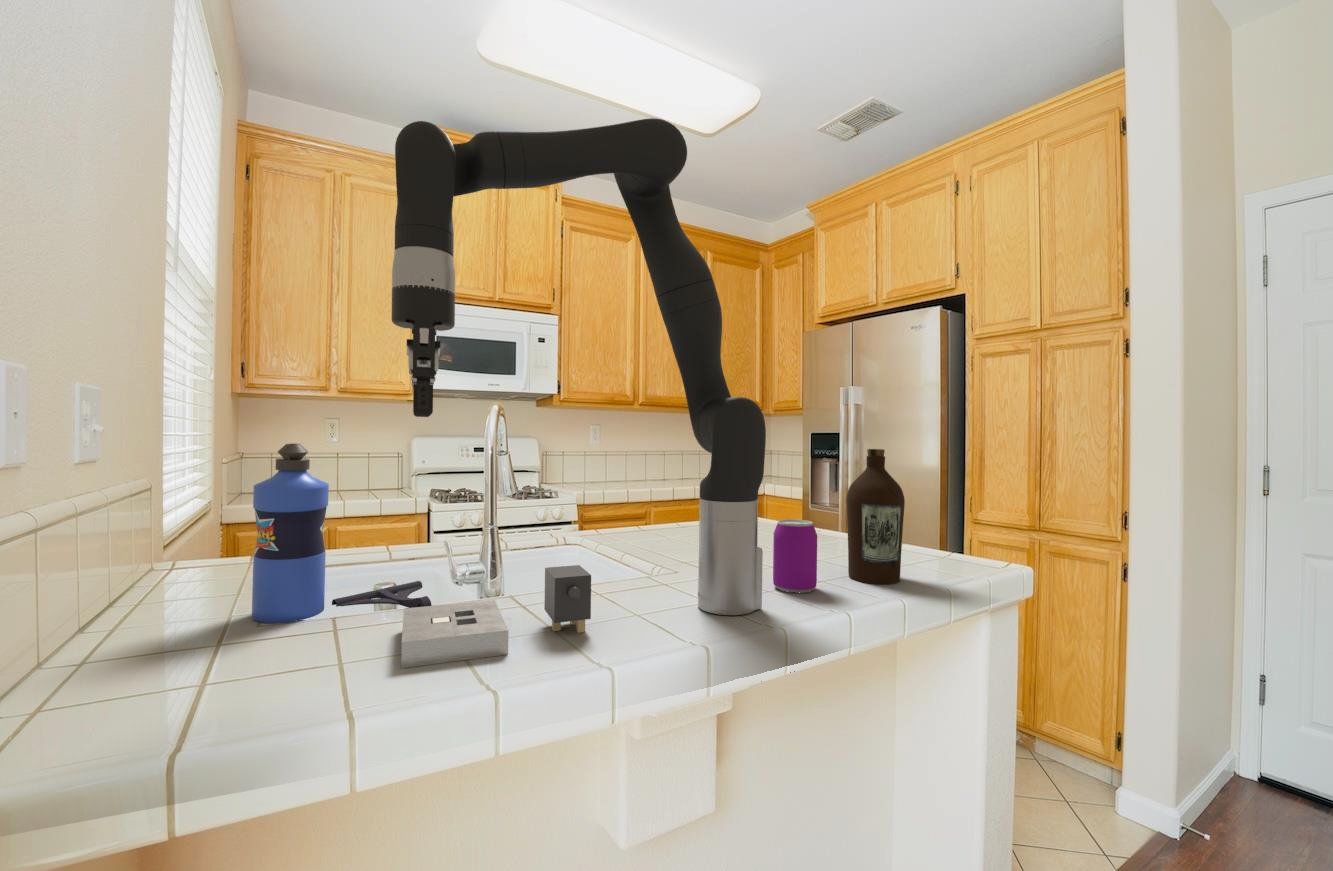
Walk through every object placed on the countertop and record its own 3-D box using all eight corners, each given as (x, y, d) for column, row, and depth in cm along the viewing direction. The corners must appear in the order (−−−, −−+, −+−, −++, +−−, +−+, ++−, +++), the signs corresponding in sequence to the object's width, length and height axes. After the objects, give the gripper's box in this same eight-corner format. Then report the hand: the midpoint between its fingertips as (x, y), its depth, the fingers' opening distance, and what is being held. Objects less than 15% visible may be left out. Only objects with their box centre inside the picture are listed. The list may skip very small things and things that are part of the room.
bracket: (381, 628, 84) (381, 609, 84) (331, 608, 93) (331, 591, 93) (468, 606, 96) (469, 588, 95) (417, 590, 104) (417, 574, 104)
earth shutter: (448, 622, 78) (448, 616, 78) (449, 627, 76) (449, 621, 76) (432, 624, 77) (432, 618, 77) (432, 629, 75) (432, 623, 75)
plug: (578, 619, 87) (579, 565, 87) (593, 636, 80) (594, 577, 80) (544, 623, 85) (544, 567, 85) (556, 641, 78) (557, 580, 78)
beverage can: (796, 596, 101) (797, 526, 101) (763, 587, 107) (764, 520, 107) (825, 590, 105) (826, 522, 105) (792, 581, 111) (793, 517, 111)
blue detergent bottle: (267, 628, 81) (271, 446, 80) (239, 612, 87) (243, 442, 86) (337, 611, 89) (341, 445, 88) (307, 598, 94) (311, 441, 93)
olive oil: (839, 571, 120) (841, 448, 120) (892, 572, 120) (894, 448, 119) (853, 584, 109) (855, 449, 109) (911, 586, 109) (914, 450, 109)
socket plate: (494, 620, 86) (494, 599, 86) (508, 654, 73) (508, 630, 73) (403, 630, 81) (403, 608, 81) (401, 668, 68) (401, 642, 68)
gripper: (458, 280, 71) (457, 415, 71) (451, 303, 84) (450, 417, 84) (389, 272, 68) (388, 414, 68) (393, 298, 81) (392, 416, 81)
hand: (422, 416), depth 76 cm, fingers open, 8 cm apart
